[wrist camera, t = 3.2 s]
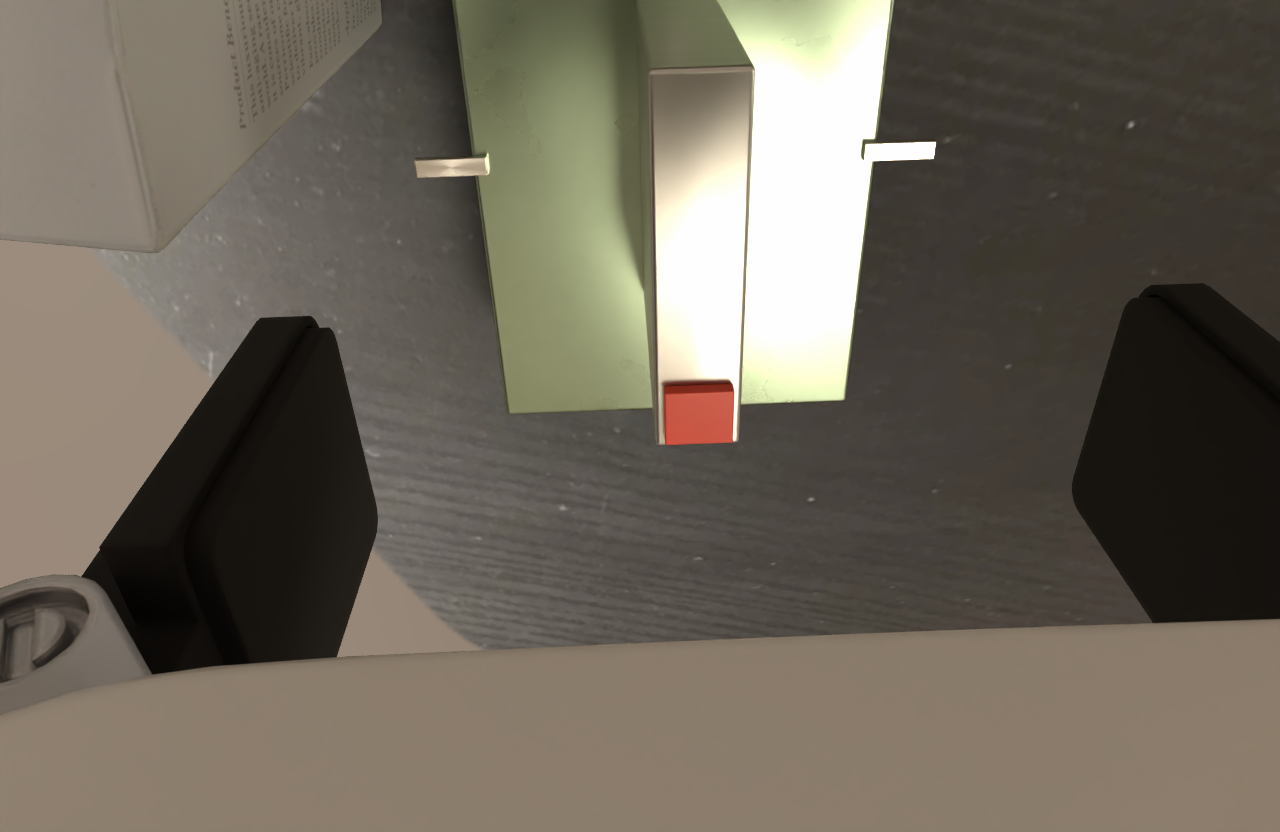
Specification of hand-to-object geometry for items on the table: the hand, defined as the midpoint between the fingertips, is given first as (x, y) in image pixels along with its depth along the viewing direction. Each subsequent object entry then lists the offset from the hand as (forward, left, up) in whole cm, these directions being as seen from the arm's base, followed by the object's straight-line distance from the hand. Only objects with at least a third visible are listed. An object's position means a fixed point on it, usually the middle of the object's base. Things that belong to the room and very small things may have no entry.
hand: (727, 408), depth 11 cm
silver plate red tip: (0, 0, -8) cm, 8 cm away
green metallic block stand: (0, 0, -13) cm, 13 cm away
